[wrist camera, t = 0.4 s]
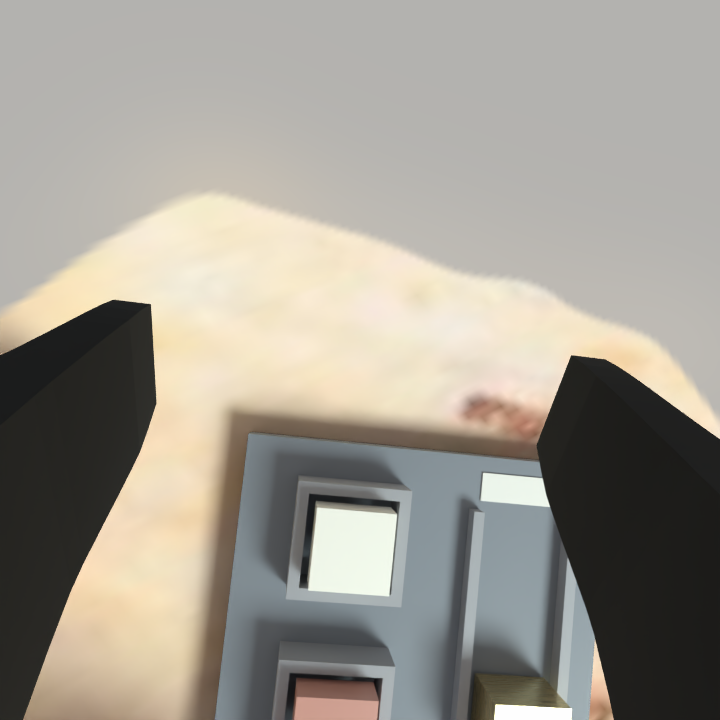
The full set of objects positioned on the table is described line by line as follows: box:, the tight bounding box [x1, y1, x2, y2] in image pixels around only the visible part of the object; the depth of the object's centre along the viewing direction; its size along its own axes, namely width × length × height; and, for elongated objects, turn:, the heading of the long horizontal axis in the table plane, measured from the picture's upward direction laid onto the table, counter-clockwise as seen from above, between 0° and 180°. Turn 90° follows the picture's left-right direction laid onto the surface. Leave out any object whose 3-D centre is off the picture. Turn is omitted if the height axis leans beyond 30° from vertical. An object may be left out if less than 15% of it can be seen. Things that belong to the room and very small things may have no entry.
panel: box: [215, 432, 595, 720], centre depth 34 cm, size 18×21×4 cm
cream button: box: [307, 501, 397, 596], centre depth 31 cm, size 4×4×2 cm
